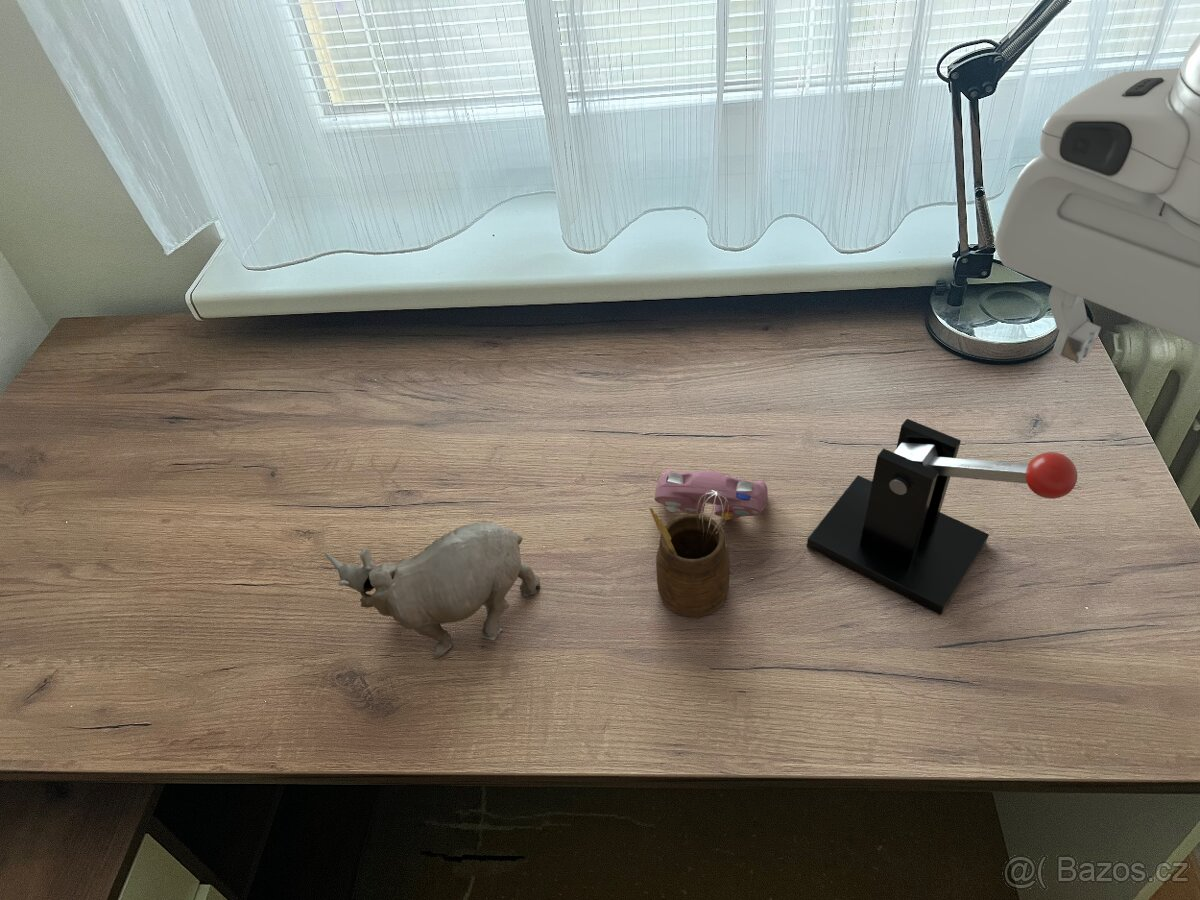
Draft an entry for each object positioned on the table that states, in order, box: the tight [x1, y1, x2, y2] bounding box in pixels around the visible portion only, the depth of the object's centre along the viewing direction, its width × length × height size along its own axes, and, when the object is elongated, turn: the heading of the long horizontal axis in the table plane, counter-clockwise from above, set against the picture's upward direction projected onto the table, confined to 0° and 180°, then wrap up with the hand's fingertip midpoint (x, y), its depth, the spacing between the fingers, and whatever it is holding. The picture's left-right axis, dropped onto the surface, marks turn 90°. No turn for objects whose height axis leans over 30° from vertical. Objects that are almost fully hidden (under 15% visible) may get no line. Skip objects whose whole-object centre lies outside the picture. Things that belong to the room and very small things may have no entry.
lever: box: [893, 443, 1078, 500], centre depth 64 cm, size 13×3×3 cm, turn 49°
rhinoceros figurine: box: [324, 522, 541, 659], centre depth 70 cm, size 8×14×15 cm
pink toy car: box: [654, 469, 769, 521], centre depth 77 cm, size 10×5×7 cm
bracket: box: [806, 418, 989, 616], centre depth 71 cm, size 12×9×12 cm
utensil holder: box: [648, 490, 731, 618], centre depth 69 cm, size 6×6×12 cm
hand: (1155, 391), depth 47 cm, fingers open, 8 cm apart
